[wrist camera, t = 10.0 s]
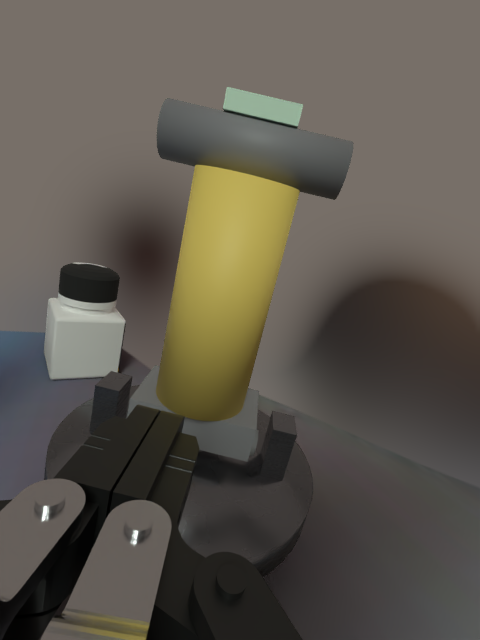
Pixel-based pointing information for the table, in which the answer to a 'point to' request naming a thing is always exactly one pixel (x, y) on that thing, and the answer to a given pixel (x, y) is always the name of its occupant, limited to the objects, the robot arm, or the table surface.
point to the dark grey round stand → (217, 481)
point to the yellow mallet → (231, 254)
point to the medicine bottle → (84, 324)
